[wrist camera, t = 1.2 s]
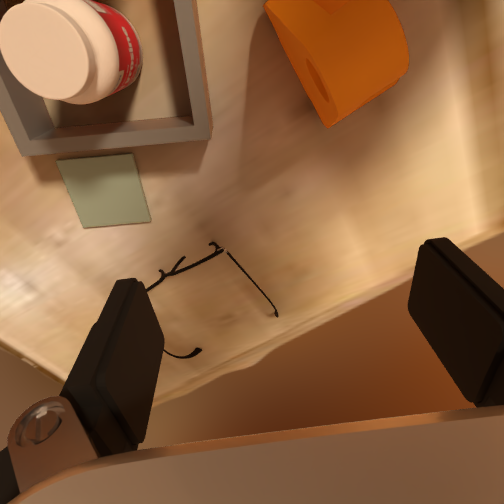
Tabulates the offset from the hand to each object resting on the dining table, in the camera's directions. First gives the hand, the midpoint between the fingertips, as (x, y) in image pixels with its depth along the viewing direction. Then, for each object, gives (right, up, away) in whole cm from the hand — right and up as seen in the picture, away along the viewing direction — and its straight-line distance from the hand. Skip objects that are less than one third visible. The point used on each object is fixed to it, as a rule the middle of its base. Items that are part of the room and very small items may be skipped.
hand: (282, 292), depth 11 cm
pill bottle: (-13, +19, +16) cm, 28 cm away
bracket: (+6, +20, +17) cm, 27 cm away
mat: (-16, +8, +23) cm, 29 cm away
